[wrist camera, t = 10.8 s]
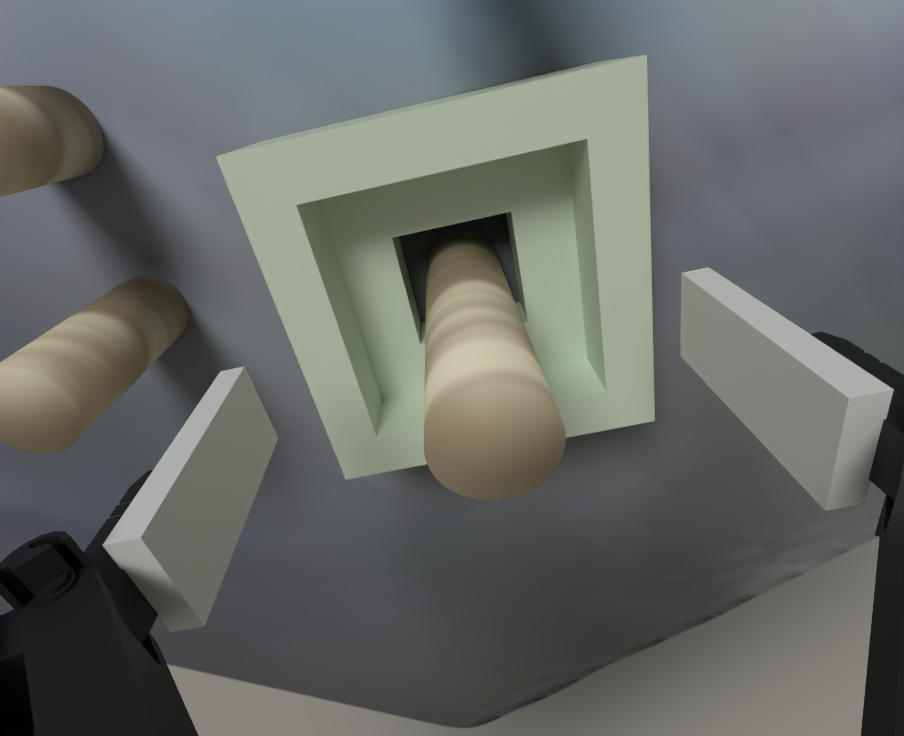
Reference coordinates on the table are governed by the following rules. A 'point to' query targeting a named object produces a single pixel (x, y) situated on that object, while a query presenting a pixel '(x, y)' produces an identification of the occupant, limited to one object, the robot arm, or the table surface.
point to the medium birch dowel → (86, 364)
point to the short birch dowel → (45, 138)
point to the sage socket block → (450, 202)
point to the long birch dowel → (483, 379)
